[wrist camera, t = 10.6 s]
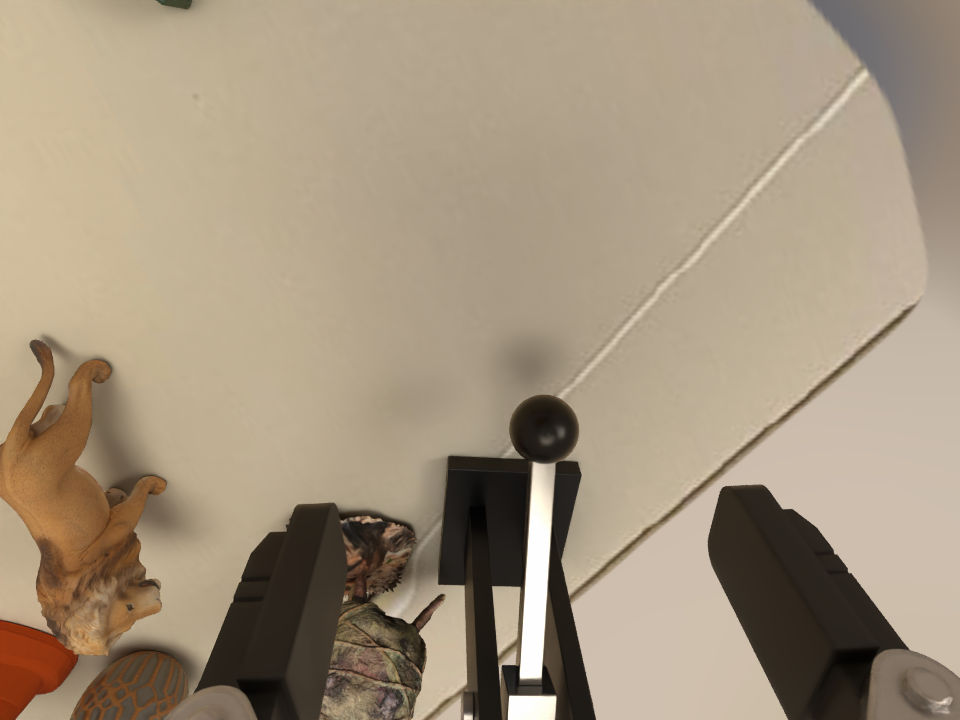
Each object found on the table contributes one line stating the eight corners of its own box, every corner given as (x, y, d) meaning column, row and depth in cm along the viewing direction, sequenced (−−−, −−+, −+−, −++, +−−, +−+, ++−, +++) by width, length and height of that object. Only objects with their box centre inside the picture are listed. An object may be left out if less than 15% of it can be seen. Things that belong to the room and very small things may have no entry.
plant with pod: (404, 615, 40) (370, 1046, 23) (256, 559, 37) (81, 1017, 19) (466, 547, 37) (481, 985, 20) (311, 478, 34) (163, 937, 16)
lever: (507, 390, 27) (517, 395, 24) (571, 394, 27) (589, 399, 24) (486, 717, 27) (494, 765, 24) (551, 717, 27) (566, 764, 24)
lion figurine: (217, 526, 35) (150, 662, 27) (139, 542, 36) (51, 681, 28) (86, 323, 28) (-54, 428, 20) (-9, 346, 28) (-184, 458, 21)
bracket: (448, 455, 33) (447, 683, 21) (577, 461, 34) (648, 685, 22) (438, 570, 38) (433, 809, 26) (552, 573, 39) (598, 807, 27)
